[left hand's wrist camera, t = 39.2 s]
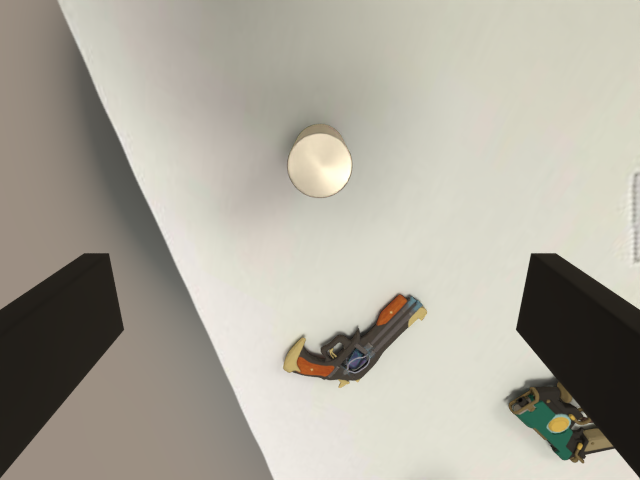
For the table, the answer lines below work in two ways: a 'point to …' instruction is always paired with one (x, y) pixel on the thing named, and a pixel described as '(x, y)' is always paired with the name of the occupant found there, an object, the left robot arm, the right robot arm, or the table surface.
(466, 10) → the table surface
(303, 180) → the canister
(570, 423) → the spray gun
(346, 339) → the toy gun
